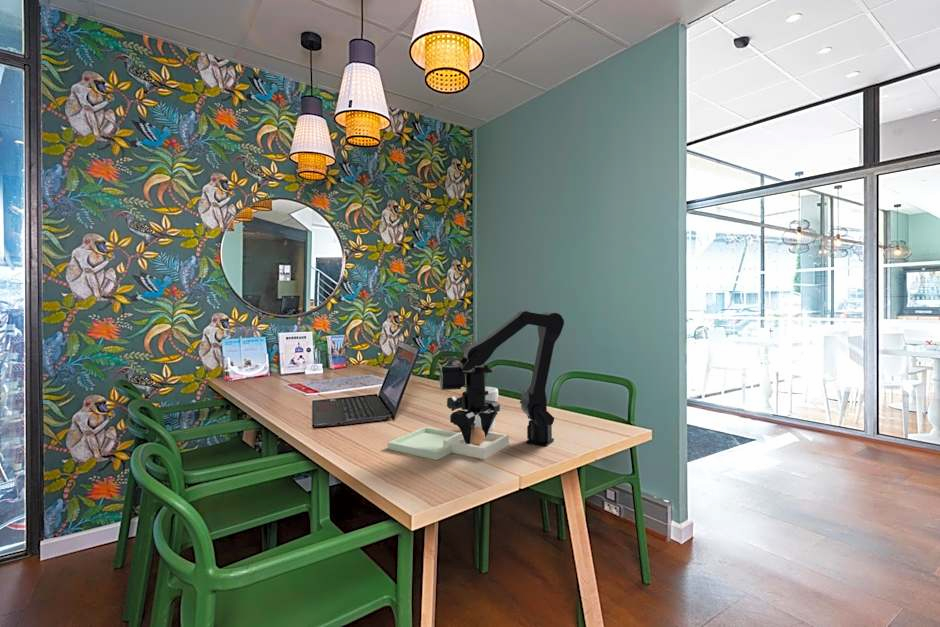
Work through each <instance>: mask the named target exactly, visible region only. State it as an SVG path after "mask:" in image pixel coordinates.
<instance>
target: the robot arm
mask: <svg viewBox="0 0 940 627" xmlns="http://www.w3.org/2000/svg"><path fill="white" fill-rule="evenodd" d="M527 325H533V326H536V327H537V334H538V339H539V340H538V346H537V351H536V356H535V361H534V365H533V370H532V371H533V372H532V375H531V380H530V385H529V387H528V389H527V390H522V391H521V399H520V400H519V404H520V407H521V410H522V412H523V413H524V414H525V415H526V416H527V418H528V419H529V420H528V425H527V427H526V428H527V429H526V430H527V432H526V433H527V434H526V438H527V440H526V444H532V445H538V446H542V447H547V446H549V445H550V444H552V442H554V441H555V438H553V437H552V436H553V433H552V432H553V431H552V426H553V423H554V421H555V417H554V416H553V415H552V414H551V413H550V412H549V411H548V410H547V408H548V407H547V406H548V398H547V394H546V389H547V388H546V387H547V383H548V378H549V373H550V367H551V363H552V357H553V352H554V347H555V344H556V342H557V340H558V339H559V337H560V336H561V335H562V334H561V333H562V331H563V328H564V325H565V319H564V318H563V316H562V315H561V314H560V313H558V312H550V311H549V312H547V311H546V312H545V311H544V312H543V313H535V312H530V311H527V310H520V311H518V312H517V313H516V315H514V316H513V317H511V318H510V319H509V320H508V321H506V322H505V323H504V324H502V325H501V326H500V327H498V328H497V329H496V330H495V331H493V332H492V333H490V334H489V335H487V336H486V337H483V338H482V339H479V340H477V341H475V342H473V343H470V344H468V345H467V346H466V348H464V350H463V356H462V358H461V359H460V361H459V362H458V363H457V365H453V366H451V365H450V366H447V365H441V367H440V375H439V387H440V390H441V391H449V390H452V391H453V390H461V389H462V388H463V387H464V386H465V391H462V394H461V395H462V396H460V397H456V396H454V395H453V396H450V397H447V398H446V399H447V400H446V407H447V408H448V409H449V410H450V409H451V414H450V415H449V418H450V420H449V422H450V423H451V424H453V425H454V426H456V427H458V428H459V430H460V432H462V435H463V438H464V440H465V443H466V444H470V443H471V440H472V436H473V432H474V428H475V423H474V421H475V416H476V415H479V416H480V418H481V427H482V430H483V431H484V433H485V437H486V436H487V434H488V432H489V431H490V430H489V429H490V427H491V425H492V423H493V421H494V419H495V420H496V417H497V415H498V414H499V412H500V411H501V405H500V403H499V402H498V400H497V401H490V400H486V395H488V391H485V387H486V374H487V373H488V374H489V373H493V369H491V368H490V367H489V366H488V364H486V362H488V360H489V358H491V357H492V356H493V355H494V354H493V353H494V352H495V351H496V350H497V349H498V348H499V347H500V346H501V345H502V344H504V343H505V342H506V341H508V340H509V339H511V337H513V336H514V335H515V334H517V333H518V332H520V331H521V330H522V329H523V328H525V327H526V326H527ZM458 409H459V410H458ZM455 410H457V411H455Z"/></svg>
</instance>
